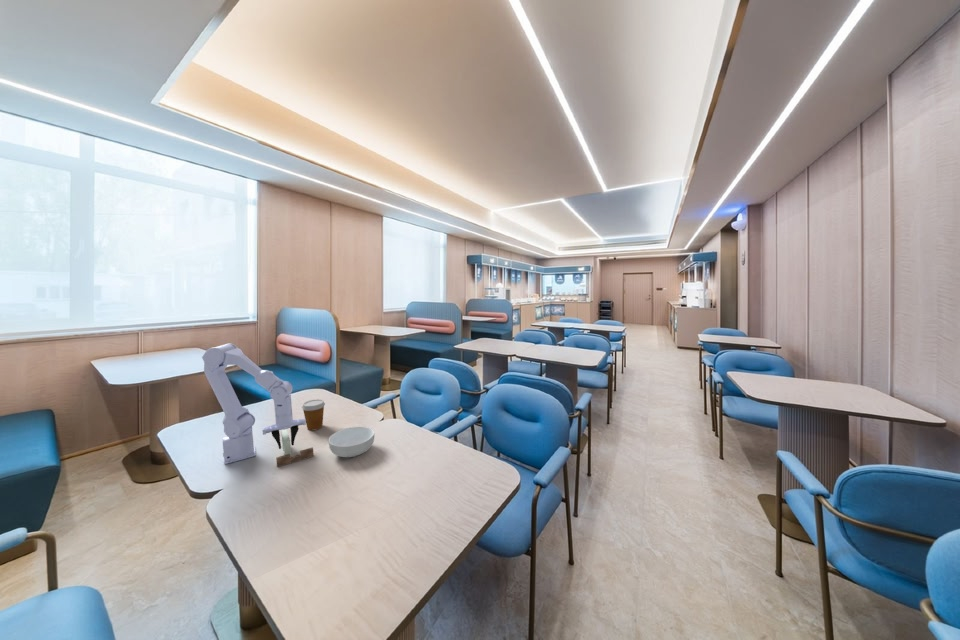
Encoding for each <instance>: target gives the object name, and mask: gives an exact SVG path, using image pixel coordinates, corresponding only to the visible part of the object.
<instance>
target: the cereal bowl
mask: <svg viewBox="0 0 960 640" xmlns="http://www.w3.org/2000/svg"><path fill="white" fill-rule="evenodd" d="M374 441H375V431H374V430H373V429H372V428H370V427H367V426H352V427H347V428H343V429H340V430H338V431H336V432H334V433H333V434H331V435H330V436H329V438H328V448H329V450H330V451H331V453H333V454H334V455H335V456H337V457H340V458H354V457H358V456H360V455H362V454H364V453H366V452H367V451H368V450H369V449H371V447H372V446H373V444H374Z"/></svg>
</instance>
